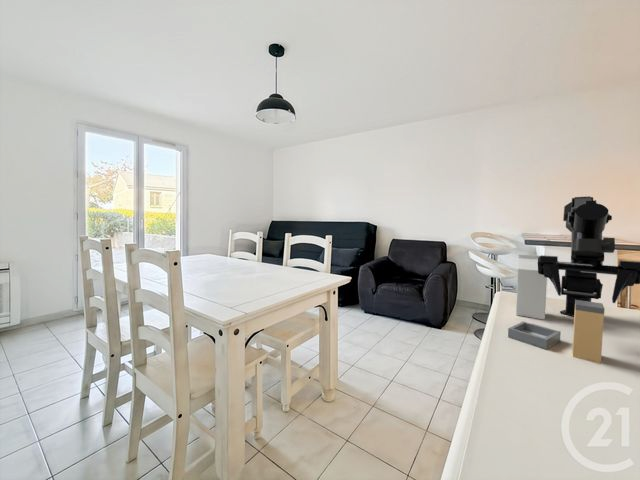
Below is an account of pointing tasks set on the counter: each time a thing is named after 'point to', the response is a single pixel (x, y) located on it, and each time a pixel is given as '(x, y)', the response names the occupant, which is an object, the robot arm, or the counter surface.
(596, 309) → the plug
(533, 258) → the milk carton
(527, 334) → the socket collar
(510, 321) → the counter surface
